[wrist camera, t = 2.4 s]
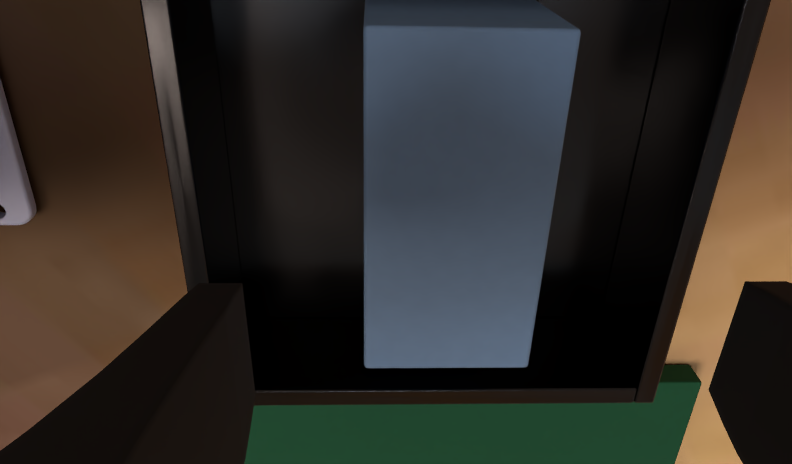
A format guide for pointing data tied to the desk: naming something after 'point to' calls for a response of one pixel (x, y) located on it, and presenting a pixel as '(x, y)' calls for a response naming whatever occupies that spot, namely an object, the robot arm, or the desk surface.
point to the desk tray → (344, 190)
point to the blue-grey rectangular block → (459, 176)
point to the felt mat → (479, 431)
